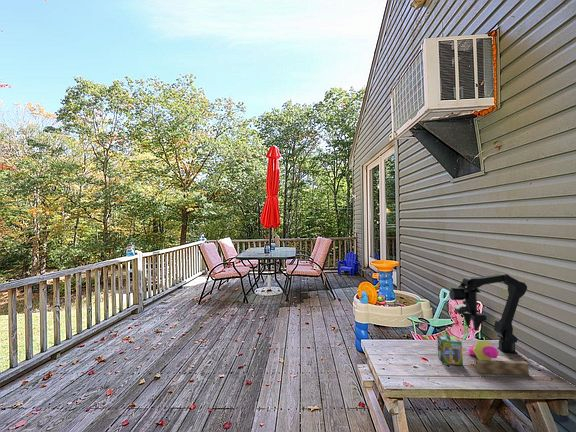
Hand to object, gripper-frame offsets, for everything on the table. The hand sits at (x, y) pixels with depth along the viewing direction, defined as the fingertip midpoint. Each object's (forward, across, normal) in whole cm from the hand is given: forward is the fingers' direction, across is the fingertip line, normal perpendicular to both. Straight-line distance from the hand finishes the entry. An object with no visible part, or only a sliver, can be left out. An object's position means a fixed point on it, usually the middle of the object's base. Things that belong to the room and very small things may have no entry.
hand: (471, 328), depth 161 cm
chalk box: (+12, +14, -19) cm, 26 cm away
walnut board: (+12, +25, 0) cm, 28 cm away
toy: (+12, +11, 0) cm, 16 cm away
